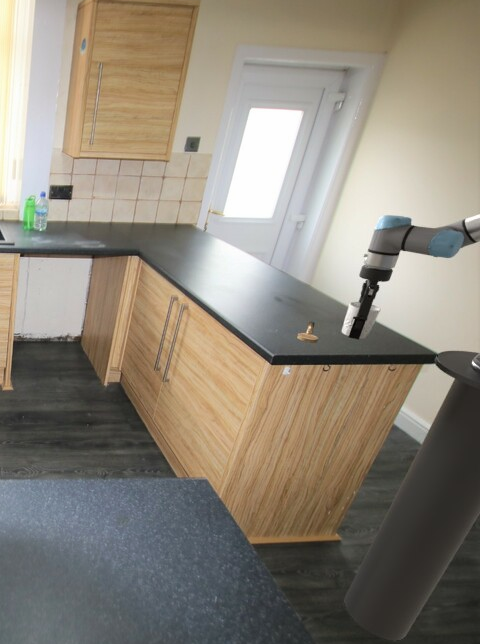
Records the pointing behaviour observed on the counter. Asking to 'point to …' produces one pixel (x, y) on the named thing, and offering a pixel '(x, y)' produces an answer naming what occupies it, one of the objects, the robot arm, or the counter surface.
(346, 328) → the white cup
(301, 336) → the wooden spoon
